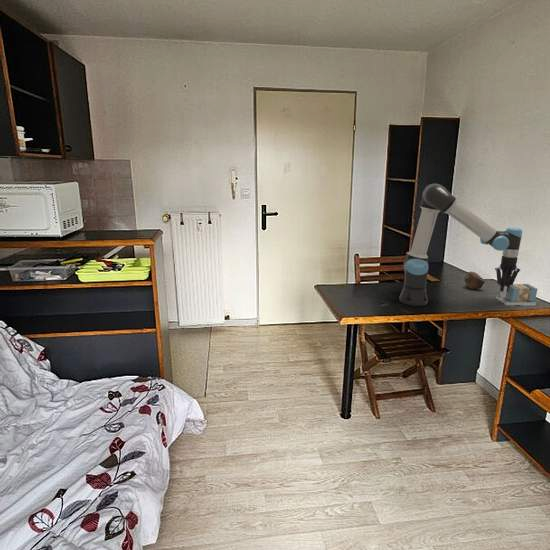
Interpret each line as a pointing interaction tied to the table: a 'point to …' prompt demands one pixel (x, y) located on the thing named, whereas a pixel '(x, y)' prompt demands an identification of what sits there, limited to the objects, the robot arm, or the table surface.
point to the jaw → (512, 293)
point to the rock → (474, 281)
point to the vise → (529, 302)
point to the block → (522, 292)
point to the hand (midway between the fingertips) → (502, 296)
